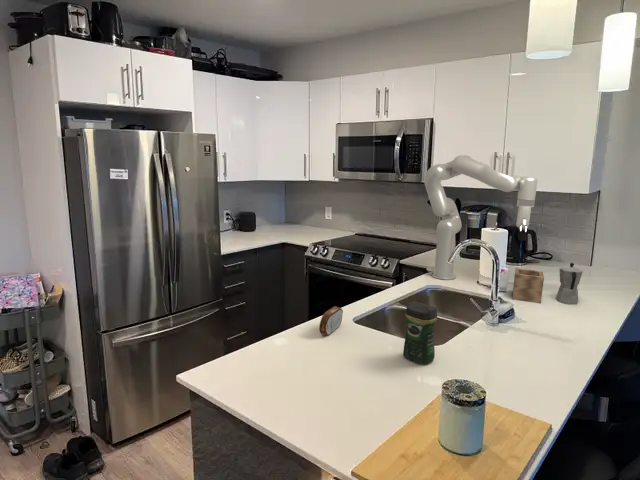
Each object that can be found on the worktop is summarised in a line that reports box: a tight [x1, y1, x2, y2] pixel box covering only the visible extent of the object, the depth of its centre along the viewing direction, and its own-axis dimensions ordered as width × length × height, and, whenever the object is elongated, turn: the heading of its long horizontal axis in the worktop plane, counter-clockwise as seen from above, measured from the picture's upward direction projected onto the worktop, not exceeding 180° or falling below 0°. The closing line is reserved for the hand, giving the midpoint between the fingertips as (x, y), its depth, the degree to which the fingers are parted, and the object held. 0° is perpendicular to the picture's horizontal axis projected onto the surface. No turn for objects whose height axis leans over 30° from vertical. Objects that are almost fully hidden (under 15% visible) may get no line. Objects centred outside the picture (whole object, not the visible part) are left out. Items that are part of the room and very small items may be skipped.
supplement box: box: [498, 266, 510, 293], centre depth 213 cm, size 6×6×12 cm
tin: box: [318, 305, 344, 336], centre depth 162 cm, size 15×3×8 cm, turn 152°
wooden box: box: [512, 268, 545, 304], centre depth 203 cm, size 12×12×12 cm
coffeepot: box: [555, 262, 584, 305], centre depth 198 cm, size 15×9×18 cm, turn 160°
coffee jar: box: [402, 300, 438, 365], centre depth 141 cm, size 10×8×19 cm
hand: (521, 238), depth 211 cm, fingers open, 9 cm apart
